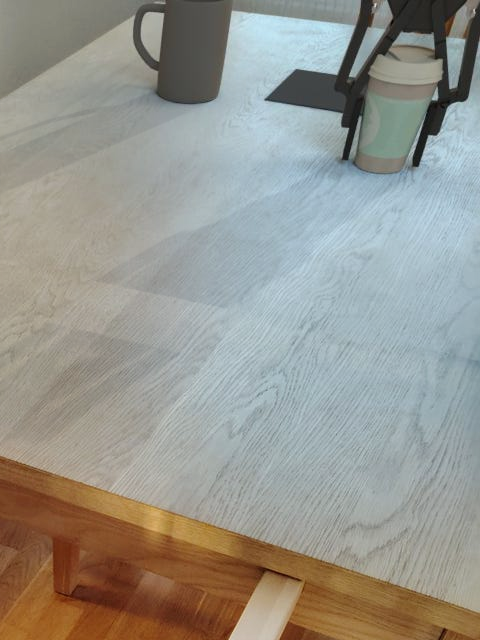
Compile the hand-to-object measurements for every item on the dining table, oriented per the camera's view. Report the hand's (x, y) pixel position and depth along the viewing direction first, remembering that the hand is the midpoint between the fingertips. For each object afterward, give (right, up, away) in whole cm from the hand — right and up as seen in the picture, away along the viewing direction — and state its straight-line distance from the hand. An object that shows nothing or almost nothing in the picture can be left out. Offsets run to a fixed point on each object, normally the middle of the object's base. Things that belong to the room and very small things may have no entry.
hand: (380, 159), depth 111 cm
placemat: (+3, +19, +18) cm, 26 cm away
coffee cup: (0, -1, +1) cm, 1 cm away
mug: (-22, +20, +20) cm, 36 cm away
